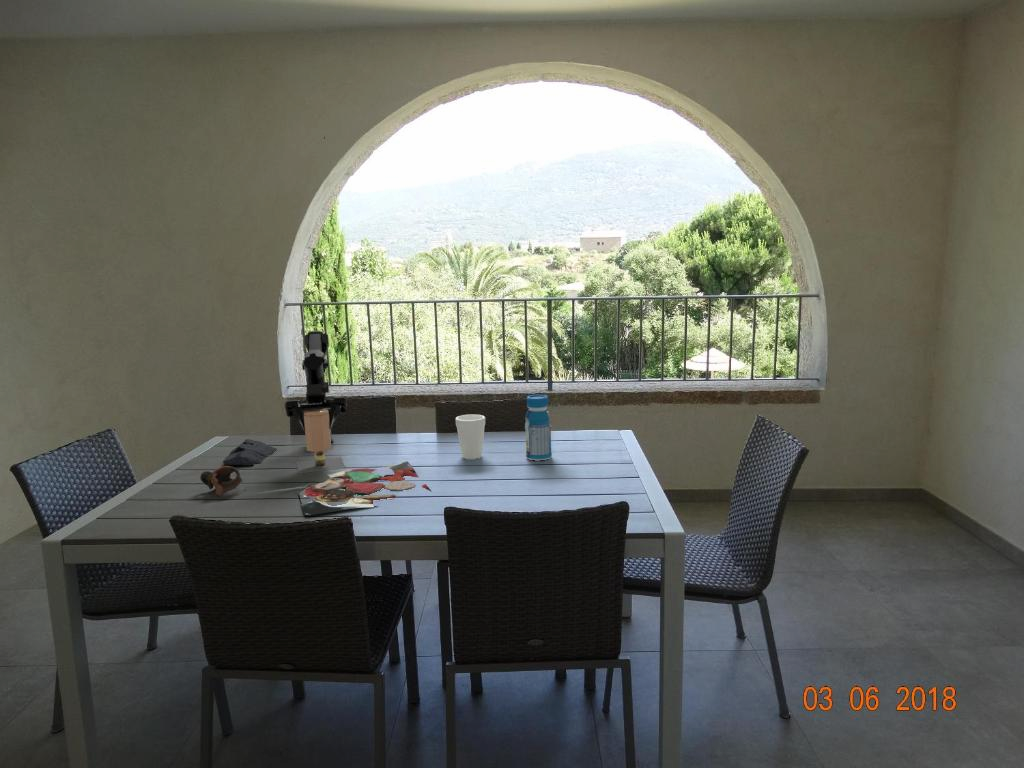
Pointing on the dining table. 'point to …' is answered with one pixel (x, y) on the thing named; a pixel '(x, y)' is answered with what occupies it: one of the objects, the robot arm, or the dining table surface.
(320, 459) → the brass weight
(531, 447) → the beverage bottle
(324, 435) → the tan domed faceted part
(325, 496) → the colorful flat pile
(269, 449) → the dark slate chunk
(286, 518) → the dining table surface
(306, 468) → the charcoal mat
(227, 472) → the brown rounded piece
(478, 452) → the foam cup
